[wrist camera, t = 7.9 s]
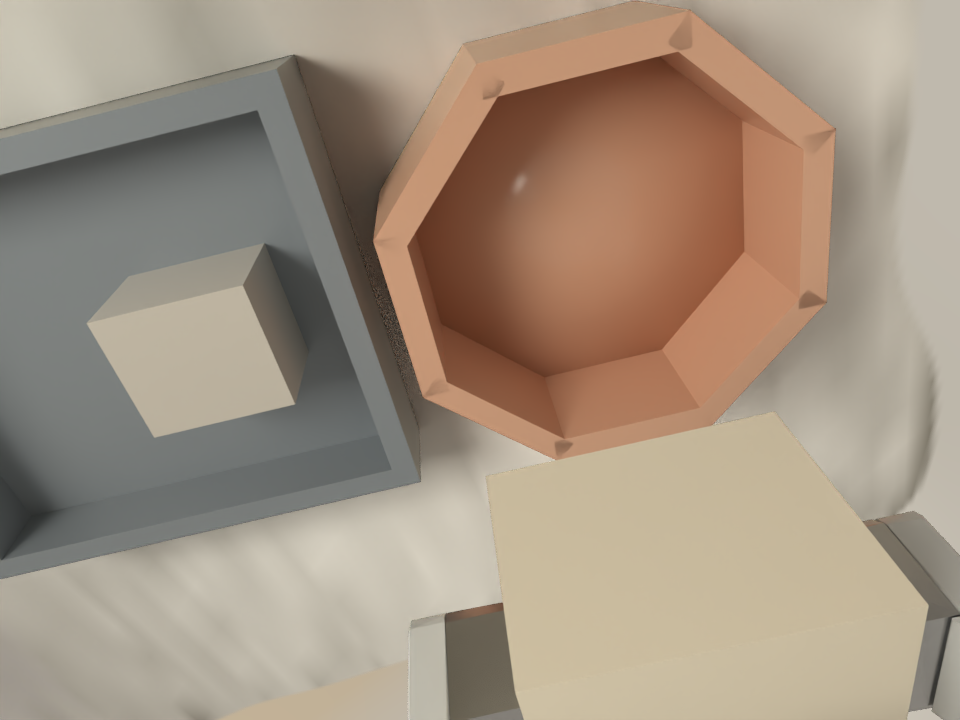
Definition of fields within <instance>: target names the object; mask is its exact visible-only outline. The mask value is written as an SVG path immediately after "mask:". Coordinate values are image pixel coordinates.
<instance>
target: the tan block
mask: <svg viewBox="0 0 960 720" xmlns="http://www.w3.org/2000/svg"><path fill="white" fill-rule="evenodd" d="M486 482H487V489H488V496H489V504H490V511H491V519H492V526H493V533H494V541H495V548H496V555H497V563H498V570H499V578H500V585H501V592H502V600H503V607H504V614H505V622H506V629H507V637H508V644H509V651H510V659H511V666H512V673H513V681H514V688H515V694H516V697H517V700H518V703H519V706H520V709H521V712H522V715H523V719H524V720H907V716H908V711H909V706H910V700H911V695H912V690H913V685H914V680H915V674H916V669H917V664H918V659H919V654H920V648H921V643H922V638H923V633H924V628H925V622H926V617H927V612H928V607H929V605H928V604H927V602H926V601H925V600H924V599H923V597H922V596H921V595H920V594H919V592H918V591H917V590H916V589H915V587H914V586H913V585H912V584H911V582H910V581H909V580H908V579H907V577H906V576H905V575H904V574H903V572H902V571H901V570H900V568H899V567H898V566H897V565H896V563H895V562H894V561H893V560H892V558H891V557H890V556H889V555H888V553H887V552H886V551H885V550H884V548H883V547H882V546H881V545H880V543H879V542H878V541H877V540H876V538H875V537H874V536H873V535H872V533H871V532H870V531H869V529H868V528H867V527H866V526H865V524H864V523H863V522H862V521H861V519H860V518H859V517H858V516H857V514H856V513H855V512H854V511H853V509H852V508H851V507H850V506H849V504H848V503H847V502H846V501H845V499H844V498H843V497H842V496H841V494H840V493H839V492H838V491H837V489H836V488H835V487H834V485H833V484H832V483H831V482H830V480H829V479H828V478H827V477H826V475H825V474H824V473H823V472H822V470H821V469H820V468H819V467H818V465H817V464H816V463H815V462H814V460H813V459H812V458H811V457H810V455H809V454H808V453H807V452H806V450H805V449H804V448H803V446H802V445H801V444H800V443H799V441H798V440H797V439H796V438H795V436H794V435H793V434H792V433H791V431H790V430H789V429H788V428H787V426H786V425H785V424H784V423H783V421H782V420H781V419H780V418H779V416H778V415H777V414H776V413H775V412H770V413H766V414H761V415H757V416H752V417H748V418H743V419H739V420H734V421H730V422H726V423H721V424H717V425H712V426H708V427H703V428H699V429H694V430H690V431H685V432H681V433H676V434H672V435H667V436H663V437H659V438H654V439H650V440H645V441H641V442H636V443H632V444H627V445H623V446H618V447H614V448H609V449H605V450H600V451H596V452H591V453H587V454H583V455H578V456H574V457H569V458H565V459H560V460H556V461H551V462H547V463H542V464H538V465H533V466H529V467H524V468H520V469H515V470H511V471H507V472H502V473H498V474H493V475H489V476H486Z"/></svg>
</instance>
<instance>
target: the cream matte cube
mask: <svg viewBox="0 0 960 720" xmlns="http://www.w3.org/2000/svg"><path fill="white" fill-rule="evenodd" d="M87 325H88V327H89V328H90V330H91V332H92V333H93V335H94V337H95V338H96V340H97V342H98V344H99V345H100V347H101V349H102V350H103V352H104V354H105V355H106V357H107V359H108V360H109V362H110V364H111V365H112V367H113V369H114V371H115V372H116V374H117V376H118V377H119V379H120V381H121V382H122V384H123V386H124V387H125V389H126V391H127V392H128V394H129V396H130V398H131V399H132V401H133V403H134V404H135V406H136V408H137V409H138V411H139V413H140V414H141V416H142V418H143V419H144V421H145V423H146V425H147V426H148V428H149V430H150V431H151V433H152V435H153V436H154V438H155V437H160V436H164V435H168V434H172V433H176V432H181V431H185V430H189V429H193V428H198V427H202V426H206V425H210V424H214V423H219V422H223V421H227V420H231V419H236V418H240V417H244V416H248V415H252V414H257V413H261V412H265V411H269V410H274V409H278V408H282V407H286V406H290V405H295V403H296V400H297V396H298V392H299V388H300V384H301V380H302V376H303V372H304V368H305V364H306V361H307V357H308V353H309V351H308V348H307V346H306V344H305V341H304V339H303V336H302V334H301V331H300V329H299V326H298V324H297V322H296V319H295V317H294V314H293V312H292V309H291V307H290V304H289V302H288V299H287V297H286V295H285V292H284V290H283V287H282V285H281V282H280V280H279V277H278V275H277V273H276V270H275V268H274V265H273V263H272V260H271V258H270V255H269V253H268V251H267V248H266V246H265V243H263V244H259V245H254V246H250V247H246V248H242V249H238V250H234V251H230V252H226V253H222V254H218V255H214V256H210V257H206V258H201V259H197V260H193V261H189V262H185V263H181V264H177V265H173V266H169V267H165V268H161V269H157V270H153V271H148V272H144V273H140V274H136V275H132V276H128V277H127V279H126V280H125V281H124V282H123V283H122V284H121V285H120V286H119V288H118V289H117V290H116V291H115V292H114V293H113V294H112V295H111V296H110V298H109V299H108V300H107V301H106V302H105V303H104V304H103V305H102V307H101V308H100V309H99V310H98V311H97V312H96V313H95V314H94V315H93V317H92V318H91V319H90V320H89V321H88V322H87Z"/></svg>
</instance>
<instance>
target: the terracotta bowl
mask: <svg viewBox="0 0 960 720" xmlns="http://www.w3.org/2000/svg"><path fill="white" fill-rule="evenodd" d="M835 130H836V128H834V127H832V126H831V125H830V124H829V123H828V122H826V121H825V120H824V119H823V118H821V117H820V116H819V115H818V114H817V113H815V112H814V111H813V110H812V109H810V108H809V107H808V106H807V105H806V104H804V103H803V102H802V101H801V100H799V99H798V98H797V97H796V96H794V95H793V94H792V93H791V92H790V91H788V90H787V89H786V88H785V87H783V86H782V85H781V84H780V83H779V82H777V81H776V80H775V79H774V78H772V77H771V76H770V75H769V74H768V73H766V72H765V71H764V70H763V69H761V68H760V67H759V66H758V65H757V64H755V63H754V62H753V61H752V60H750V59H749V58H748V57H747V56H746V55H744V54H743V53H742V52H741V51H739V50H738V49H737V48H736V47H735V46H733V45H732V44H731V43H730V42H728V41H727V40H726V39H725V38H723V37H722V36H721V35H720V34H719V33H717V32H716V31H715V30H714V29H712V28H711V27H710V26H709V25H708V24H706V23H705V22H704V21H703V20H701V19H700V18H699V17H698V16H697V15H695V14H694V13H693V12H692V11H691V10H687V9H681V8H675V7H669V6H663V5H657V4H651V3H645V2H639V1H631V2H627V3H623V4H619V5H615V6H611V7H607V8H603V9H599V10H595V11H591V12H587V13H583V14H579V15H575V16H571V17H567V18H564V19H560V20H556V21H552V22H548V23H544V24H540V25H536V26H532V27H528V28H524V29H520V30H516V31H512V32H508V33H504V34H500V35H496V36H492V37H488V38H484V39H480V40H476V41H472V42H469V43H465V44H464V43H463V45H462V47H461V48H460V50H459V52H458V54H457V56H456V57H455V59H454V61H453V63H452V64H451V66H450V68H449V70H448V71H447V73H446V75H445V77H444V79H443V80H442V82H441V84H440V86H439V87H438V89H437V91H436V93H435V94H434V96H433V98H432V100H431V102H430V103H429V105H428V107H427V109H426V110H425V112H424V114H423V116H422V117H421V119H420V121H419V123H418V124H417V126H416V128H415V130H414V132H413V133H412V135H411V137H410V139H409V140H408V142H407V144H406V146H405V147H404V149H403V151H402V153H401V155H400V156H399V158H398V160H397V162H396V163H395V165H394V167H393V169H392V170H391V172H390V174H389V176H388V178H387V179H386V181H385V183H384V185H383V186H382V188H381V190H380V192H379V200H378V207H377V215H376V223H375V231H374V239H373V243H374V245H375V249H376V252H377V255H378V258H379V261H380V264H381V267H382V271H383V274H384V277H385V280H386V283H387V286H388V289H389V292H390V296H391V299H392V302H393V305H394V308H395V311H396V314H397V317H398V321H399V324H400V327H401V330H402V333H403V336H404V339H405V343H406V346H407V349H408V352H409V355H410V358H411V361H412V364H413V368H414V371H415V374H416V377H417V380H418V383H419V386H420V389H421V393H422V396H423V398H425V399H427V400H429V401H431V402H434V403H436V404H438V405H440V406H442V407H444V408H446V409H448V410H451V411H453V412H455V413H457V414H459V415H461V416H463V417H466V418H468V419H470V420H472V421H474V422H476V423H478V424H480V425H483V426H485V427H487V428H489V429H491V430H493V431H495V432H497V433H500V434H502V435H504V436H506V437H508V438H510V439H512V440H514V441H517V442H519V443H521V444H523V445H525V446H527V447H529V448H532V449H534V450H536V451H538V452H540V453H542V454H544V455H546V456H549V457H551V458H553V459H555V460H560V459H565V458H569V457H574V456H578V455H583V454H587V453H591V452H596V451H600V450H605V449H609V448H614V447H618V446H623V445H627V444H632V443H636V442H641V441H645V440H650V439H654V438H659V437H663V436H667V435H672V434H676V433H681V432H685V431H690V430H694V429H699V428H703V427H708V426H712V425H713V424H714V423H715V421H716V420H717V419H718V418H719V417H720V416H721V415H722V414H723V413H724V412H725V411H726V410H727V409H728V408H729V406H730V405H731V404H732V403H733V402H734V401H735V400H736V399H737V398H738V397H739V396H740V395H741V394H742V392H743V391H744V390H745V389H746V388H747V387H748V386H749V385H750V384H751V383H752V382H753V381H754V380H755V379H756V377H757V376H758V375H759V374H760V373H761V372H762V371H763V370H764V369H765V368H766V367H767V366H768V365H769V364H770V362H771V361H772V360H773V359H774V358H775V357H776V356H777V355H778V354H779V353H780V352H781V351H782V350H783V349H784V347H785V346H786V345H787V344H788V343H789V342H790V341H791V340H792V339H793V338H794V337H795V336H796V335H797V334H798V332H799V331H800V330H801V329H802V328H803V327H804V326H805V325H806V324H807V323H808V322H809V321H810V320H811V319H812V317H813V316H814V315H815V314H816V313H817V312H818V311H819V310H820V309H821V308H822V307H823V306H824V305H825V304H826V302H827V283H828V264H829V245H830V226H831V207H832V187H833V168H834V149H835Z"/></svg>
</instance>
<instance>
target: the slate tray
mask: <svg viewBox="0 0 960 720" xmlns="http://www.w3.org/2000/svg"><path fill="white" fill-rule="evenodd" d="M263 243H265V246H266V248H267V251H268V253H269V255H270V258H271V260H272V263H273V265H274V268H275V270H276V273H277V275H278V277H279V280H280V282H281V285H282V287H283V290H284V292H285V295H286V297H287V299H288V302H289V304H290V307H291V309H292V312H293V314H294V317H295V319H296V322H297V324H298V326H299V329H300V331H301V334H302V336H303V339H304V341H305V344H306V346H307V348H308V351H309V353H308V357H307V361H306V364H305V368H304V372H303V376H302V380H301V384H300V388H299V392H298V396H297V400H296V403H295V405H290V406H286V407H282V408H278V409H274V410H269V411H265V412H261V413H257V414H252V415H248V416H244V417H240V418H236V419H231V420H227V421H223V422H219V423H214V424H210V425H206V426H202V427H198V428H193V429H189V430H185V431H181V432H176V433H172V434H168V435H164V436H160V437H155V438H154V436H153V435H152V433H151V431H150V430H149V428H148V426H147V425H146V423H145V421H144V419H143V418H142V416H141V414H140V413H139V411H138V409H137V408H136V406H135V404H134V403H133V401H132V399H131V398H130V396H129V394H128V392H127V391H126V389H125V387H124V386H123V384H122V382H121V381H120V379H119V377H118V376H117V374H116V372H115V371H114V369H113V367H112V365H111V364H110V362H109V360H108V359H107V357H106V355H105V354H104V352H103V350H102V349H101V347H100V345H99V344H98V342H97V340H96V338H95V337H94V335H93V333H92V332H91V330H90V328H89V327H88V325H87V322H88V321H89V320H90V319H91V318H92V317H93V315H94V314H95V313H96V312H97V311H98V310H99V309H100V308H101V307H102V305H103V304H104V303H105V302H106V301H107V300H108V299H109V298H110V296H111V295H112V294H113V293H114V292H115V291H116V290H117V289H118V288H119V286H120V285H121V284H122V283H123V282H124V281H125V280H126V279H127V277H128V276H132V275H136V274H140V273H144V272H148V271H153V270H157V269H161V268H165V267H169V266H173V265H177V264H181V263H185V262H189V261H193V260H197V259H201V258H206V257H210V256H214V255H218V254H222V253H226V252H230V251H234V250H238V249H242V248H246V247H250V246H254V245H259V244H263ZM418 482H421V472H420V431H419V428H418V425H417V422H416V419H415V416H414V413H413V410H412V406H411V403H410V400H409V397H408V394H407V391H406V388H405V385H404V382H403V379H402V376H401V373H400V370H399V367H398V364H397V361H396V358H395V355H394V352H393V349H392V346H391V343H390V340H389V337H388V334H387V331H386V328H385V325H384V322H383V319H382V316H381V313H380V310H379V307H378V304H377V301H376V298H375V295H374V292H373V289H372V286H371V283H370V280H369V277H368V274H367V271H366V268H365V265H364V262H363V259H362V256H361V253H360V250H359V247H358V244H357V241H356V238H355V235H354V232H353V229H352V226H351V223H350V220H349V217H348V214H347V211H346V208H345V205H344V202H343V199H342V196H341V193H340V190H339V187H338V184H337V181H336V178H335V175H334V172H333V169H332V166H331V163H330V160H329V157H328V154H327V151H326V148H325V145H324V142H323V139H322V136H321V133H320V130H319V127H318V124H317V121H316V118H315V115H314V112H313V109H312V106H311V103H310V100H309V97H308V94H307V91H306V88H305V85H304V82H303V79H302V76H301V73H300V70H299V67H298V64H297V61H296V58H295V55H290V56H287V57H283V58H279V59H275V60H271V61H267V62H263V63H259V64H255V65H251V66H247V67H243V68H239V69H235V70H231V71H228V72H224V73H220V74H216V75H212V76H208V77H204V78H200V79H196V80H192V81H188V82H184V83H180V84H176V85H172V86H169V87H165V88H161V89H157V90H153V91H149V92H145V93H141V94H137V95H133V96H129V97H125V98H121V99H117V100H113V101H110V102H106V103H102V104H98V105H94V106H90V107H86V108H82V109H78V110H74V111H70V112H66V113H62V114H58V115H54V116H51V117H47V118H43V119H39V120H35V121H31V122H27V123H23V124H19V125H15V126H11V127H7V128H3V129H0V579H4V578H8V577H12V576H17V575H21V574H25V573H30V572H34V571H38V570H43V569H47V568H51V567H56V566H60V565H64V564H68V563H73V562H77V561H81V560H86V559H90V558H94V557H99V556H103V555H107V554H112V553H116V552H120V551H125V550H129V549H133V548H138V547H142V546H146V545H151V544H155V543H159V542H163V541H168V540H172V539H176V538H181V537H185V536H189V535H194V534H198V533H202V532H207V531H211V530H215V529H220V528H224V527H228V526H233V525H237V524H241V523H246V522H250V521H254V520H258V519H263V518H267V517H271V516H276V515H280V514H284V513H289V512H293V511H297V510H302V509H306V508H310V507H315V506H319V505H323V504H328V503H332V502H336V501H341V500H345V499H349V498H354V497H358V496H362V495H366V494H371V493H375V492H379V491H384V490H388V489H392V488H397V487H401V486H405V485H410V484H414V483H418Z"/></svg>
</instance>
